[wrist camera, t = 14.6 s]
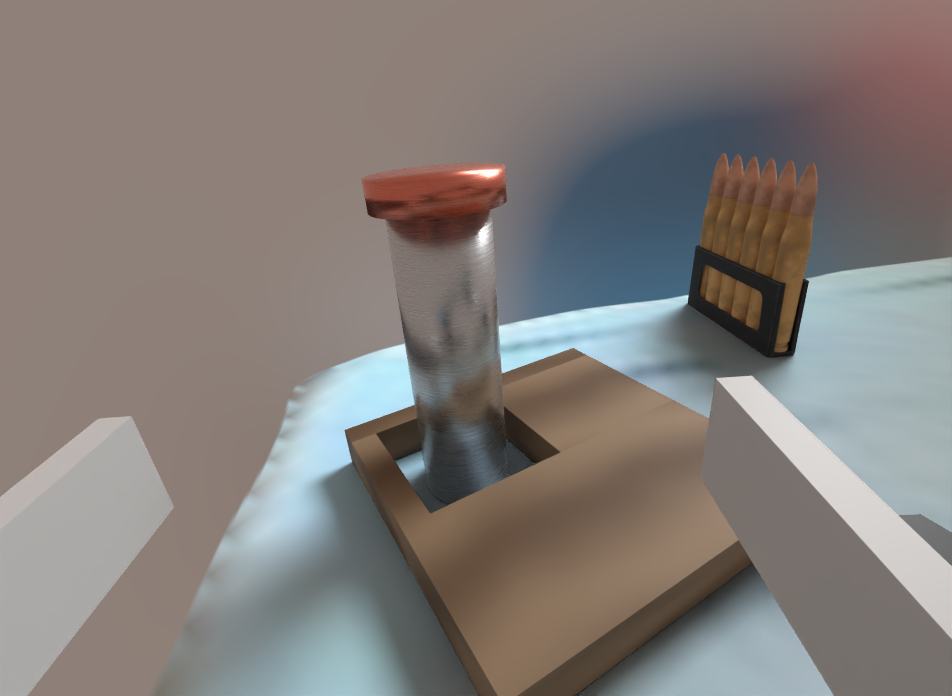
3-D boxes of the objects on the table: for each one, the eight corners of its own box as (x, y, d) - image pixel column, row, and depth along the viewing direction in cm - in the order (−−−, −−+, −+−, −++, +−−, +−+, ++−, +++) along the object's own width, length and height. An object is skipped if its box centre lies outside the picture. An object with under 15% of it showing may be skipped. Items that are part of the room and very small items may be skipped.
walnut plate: (813, 517, 20) (824, 479, 19) (507, 746, 13) (503, 705, 13) (572, 375, 32) (573, 348, 31) (351, 461, 25) (344, 430, 24)
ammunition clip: (795, 355, 32) (840, 162, 27) (768, 358, 32) (809, 165, 26) (707, 300, 41) (728, 151, 36) (687, 303, 41) (704, 153, 36)
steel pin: (541, 484, 23) (534, 165, 16) (443, 533, 20) (392, 186, 14) (485, 431, 27) (462, 160, 21) (398, 467, 25) (344, 176, 18)
